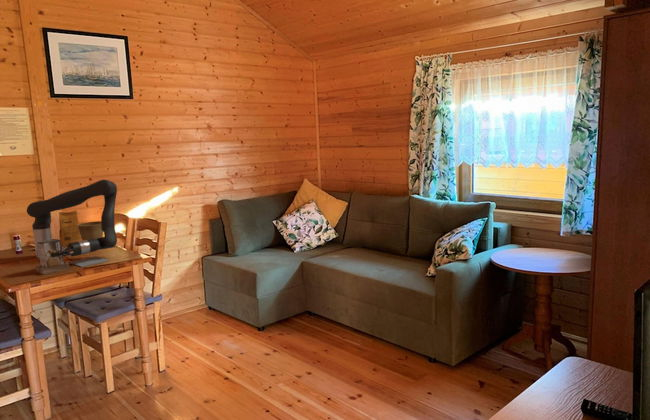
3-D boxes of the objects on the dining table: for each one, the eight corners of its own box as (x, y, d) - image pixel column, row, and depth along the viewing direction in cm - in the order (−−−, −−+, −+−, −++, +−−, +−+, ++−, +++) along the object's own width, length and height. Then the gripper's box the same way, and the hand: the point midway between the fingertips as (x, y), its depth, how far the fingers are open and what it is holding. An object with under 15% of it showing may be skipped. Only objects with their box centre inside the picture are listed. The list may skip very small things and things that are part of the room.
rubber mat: (69, 263, 275) (69, 262, 275) (96, 257, 287) (95, 256, 286) (81, 267, 266) (81, 266, 266) (108, 261, 277) (108, 259, 277)
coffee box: (58, 267, 267) (54, 238, 265) (64, 268, 264) (61, 239, 261) (41, 271, 260) (37, 242, 257) (47, 273, 256) (43, 243, 254)
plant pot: (100, 244, 321) (97, 220, 318) (110, 247, 310) (107, 222, 308) (76, 249, 310) (73, 224, 308) (85, 252, 300) (82, 226, 297)
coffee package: (60, 244, 327) (56, 211, 323) (81, 241, 332) (77, 209, 329) (60, 246, 318) (56, 213, 314) (81, 244, 324) (77, 211, 320)
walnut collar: (36, 271, 260) (35, 266, 260) (61, 266, 270) (61, 260, 269) (43, 274, 254) (42, 269, 253) (69, 268, 264) (69, 263, 263)
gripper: (72, 239, 275) (41, 245, 263) (84, 242, 266) (52, 249, 254) (74, 253, 277) (43, 259, 264) (85, 256, 267) (54, 263, 255)
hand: (47, 254), depth 259 cm, fingers open, 8 cm apart
